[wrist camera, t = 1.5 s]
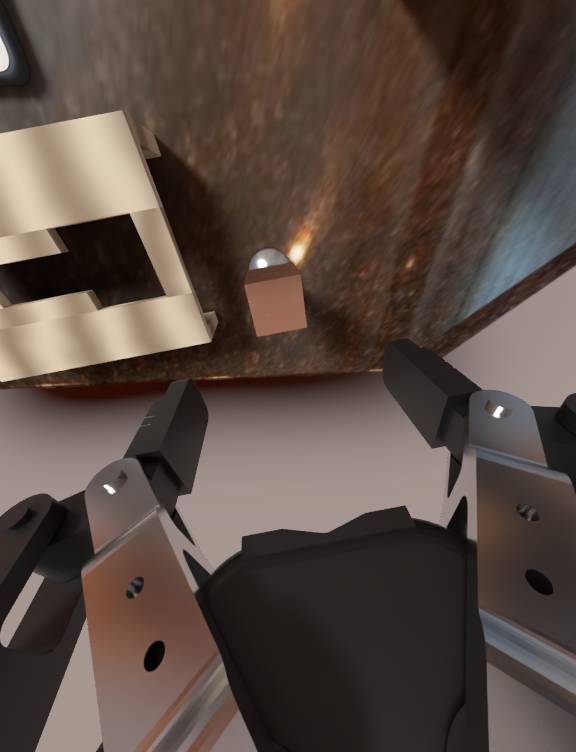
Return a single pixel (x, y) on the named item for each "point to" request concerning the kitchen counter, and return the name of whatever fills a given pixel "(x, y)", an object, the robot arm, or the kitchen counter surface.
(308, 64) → the kitchen counter surface
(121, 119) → the keyhole plate
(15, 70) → the smartphone
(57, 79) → the kitchen counter surface
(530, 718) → the robot arm
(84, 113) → the kitchen counter surface
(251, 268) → the footed peg
